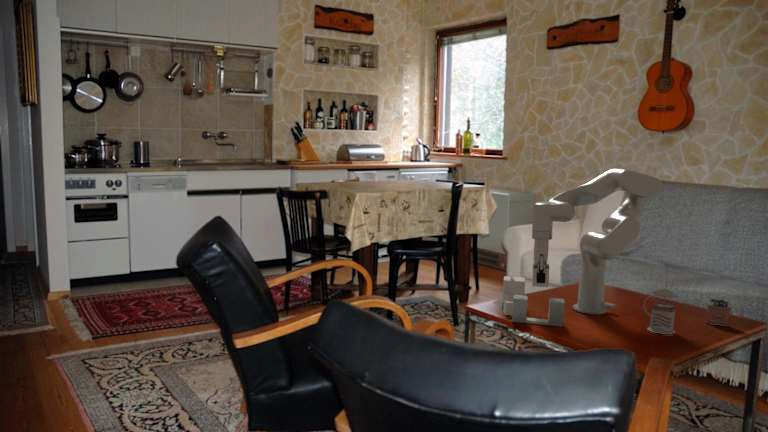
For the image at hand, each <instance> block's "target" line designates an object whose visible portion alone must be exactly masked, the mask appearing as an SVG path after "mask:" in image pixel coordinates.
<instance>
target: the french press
mask: <svg viewBox="0 0 768 432" xmlns="http://www.w3.org/2000/svg"><path fill="white" fill-rule="evenodd" d="M671 266H672V265H671V263H669V262H667V263H665V264H664V267H666V272H668V271H669V268H670V267H671ZM667 281H668V274H666V276H665V283H668V282H667ZM652 294H653V295H650V296H648V297H646V298H645V300H644V301H643V311H644V313H645V314H646V315H648V317H649V326H648V327H647V328H646V330H647V329H648V330H649V331H651V332H650V333H652V332H654V333H653V334H655V333H661V334H672V333H675V332H676V331H675V329H674V325H675V315H676V310H675V305H674V304H671V303H667V302H665V301H666V298H667V299H675V298H677V297H678V294H676V292H674V291H672V290H670V289H667V284H665V286H664V289H660V288H659V289H657V290H655V291H652ZM654 296H657V297H661V298H663V302H658V301H657V302H653V303H652V305H653V306H652V308H651V313H649V312H648V310H647V309H646V302H647V300H648V299H650V298H651V299H652V301H653V300H654V298H655V297H654ZM648 330H647V331H648ZM649 331H648V332H649Z"/></svg>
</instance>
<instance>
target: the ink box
mask: <svg viewBox="0 0 768 432" xmlns="http://www.w3.org/2000/svg"><path fill="white" fill-rule="evenodd" d="M525 286H526V277H520V276H515V275H514V274H513V273H512V272H510V275H509V276H507V275H505V276H504V277H503V285H502V305H501V309H502V310H503V308H504V300H513V297H514V295H524V296H525V291H526V290H525Z"/></svg>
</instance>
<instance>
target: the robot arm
mask: <svg viewBox="0 0 768 432" xmlns="http://www.w3.org/2000/svg"><path fill="white" fill-rule="evenodd" d="M663 189H664V186H663V182H662V181H661V180H660V179H659V178H658V177H656V176H653V175H648V174H645V173H641V172H639V171H636V170H632V169H627V168H619V167H617V168H616V167H614V168H613V167H612V168H610V169H609V170H607V171H605V172H603V173H601V174H600V175H598V176H597V177H595V178H593V179H591V180H589V181H588V182H586V183H584V184H581V185H579V186H576V187H574V188H571V189H567V190H565V191H563V192H561V193H559V194H557V195H555V196H554V197H552V198H551V199H549V200H548V201H547V202H542V201H540V202H535V203H533V205H532V225H531V226H532V231H531V239H532V240H534V242H533V243H534V245H533V263H534V265H536V264H538V272H537V280H536V282H537V283H545V265H547V264H548V258H549V243H550V241H551V240H552V239H553V223H554V222H557V223H558V222H560V223H568V222H571V221H572V220H573V219H574V218H575V216H576V209H575V208H576V207H580V206H587V205H589V206H590V205H593V204H596V203H597V204H598V203H599V202H601V201H602V200H604V199H605V198H607V197H609V196H610V195H612V194H614V193H615V192H617V191H619V192H624V199H623V201H622V203H621V204H620V205H619V206H618V207H616V208H615V209H614V210H613V211H612V212H611V214H609V215H608V216H607V217H605V219H604V220H603V222H602V223H601V230H602V232H599V231H592V230H591V231H588V232H586V233H584V234H583V235H582V237H580V241H579V251H580V271H579V282H578V294H577V303H575V304H573V306H572V309H573V310H574V311H576V312H579V313H582V314H588V315H603V314H606V313H607V309H613V310H615V309H616V303H611V302H606V301H605V299H604V292H605V280H606V273H607V272H606V270H607V267H606V265H607V263H606V261H612V260H615V259H616V258H618V256H620V255H621V254H622V253H623V252H624V251H625V250H627V248H629V246H631V245H632V244H633V243H634V242H635V241H636V240H637V238H638V237H639V234H640V233H641V225H640V222H639V221H638V219H639V218H640V217H641V215H642V214H643V212H644V206H645V199H649V200H652V199H657V198H658V197H660V196H661V195H662V193H663ZM539 263H540V264H539ZM543 264H544V265H543ZM539 266H540V267H539Z"/></svg>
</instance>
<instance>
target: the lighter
mask: <svg viewBox="0 0 768 432" xmlns="http://www.w3.org/2000/svg"><path fill="white" fill-rule="evenodd" d="M709 300H710V301H709V302H710V303H707V311H706V321H705V323H706V322H707V323H712V324H723V325H729V326H730V318H731V311H732V306H730V305H729V300H725V299H724V300H723V298H719V299H718V298H710V299H709Z"/></svg>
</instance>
